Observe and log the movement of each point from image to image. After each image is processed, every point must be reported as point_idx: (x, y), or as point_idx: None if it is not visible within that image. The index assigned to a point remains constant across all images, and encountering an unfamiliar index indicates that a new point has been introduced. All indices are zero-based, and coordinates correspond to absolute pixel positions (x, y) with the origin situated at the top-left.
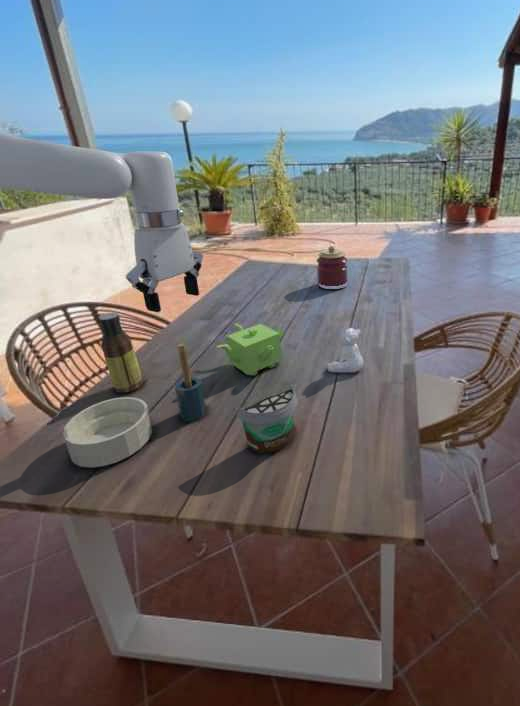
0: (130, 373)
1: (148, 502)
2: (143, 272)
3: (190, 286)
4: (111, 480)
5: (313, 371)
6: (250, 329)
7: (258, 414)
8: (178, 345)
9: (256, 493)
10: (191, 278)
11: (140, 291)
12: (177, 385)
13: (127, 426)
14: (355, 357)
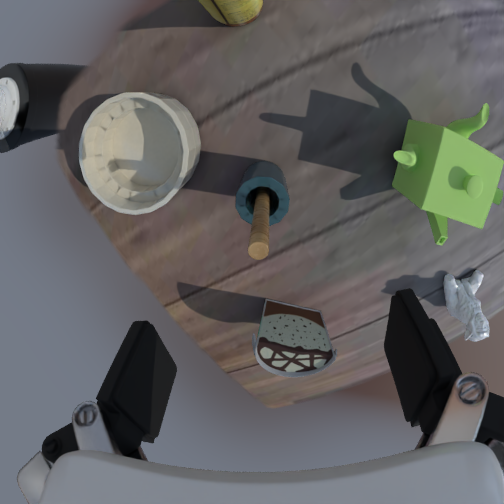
0: (229, 15)
1: (148, 274)
2: (76, 485)
3: (401, 364)
4: (128, 215)
5: (440, 257)
6: (473, 184)
7: (262, 365)
8: (250, 248)
9: (226, 340)
10: (418, 411)
11: (81, 410)
12: (244, 189)
13: (173, 129)
14: (458, 318)
